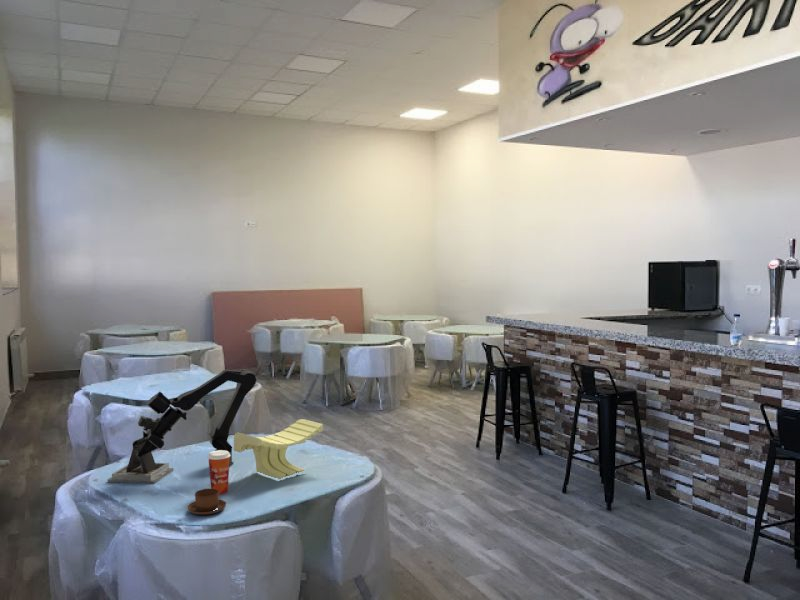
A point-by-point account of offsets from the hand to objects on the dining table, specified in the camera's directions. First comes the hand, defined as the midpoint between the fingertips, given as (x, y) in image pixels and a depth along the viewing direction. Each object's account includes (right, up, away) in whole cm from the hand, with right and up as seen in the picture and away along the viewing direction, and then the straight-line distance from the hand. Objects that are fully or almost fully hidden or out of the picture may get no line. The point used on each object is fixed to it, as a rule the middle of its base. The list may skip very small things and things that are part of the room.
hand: (137, 453), depth 252 cm
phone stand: (+1, -7, +1) cm, 7 cm away
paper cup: (+35, -10, -16) cm, 40 cm away
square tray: (+1, -9, +1) cm, 9 cm away
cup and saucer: (+36, -11, -34) cm, 51 cm away
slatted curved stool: (+53, -9, +5) cm, 54 cm away
